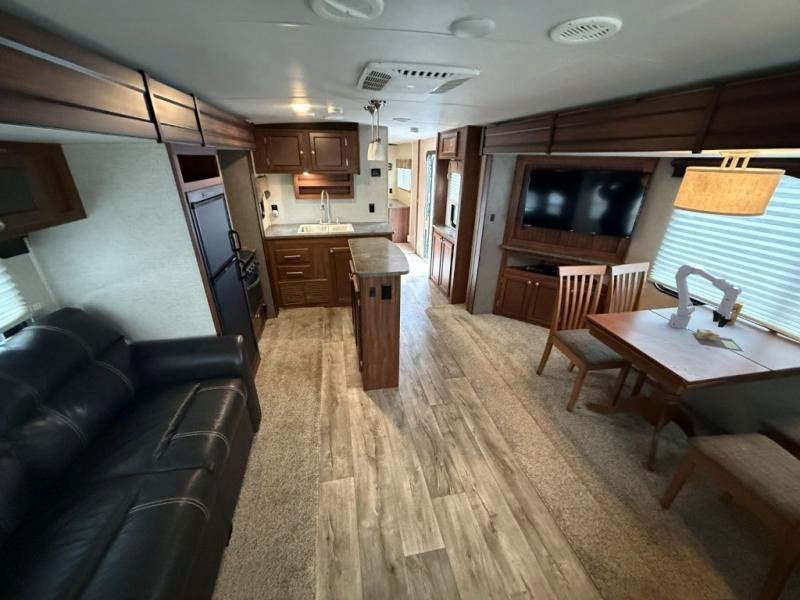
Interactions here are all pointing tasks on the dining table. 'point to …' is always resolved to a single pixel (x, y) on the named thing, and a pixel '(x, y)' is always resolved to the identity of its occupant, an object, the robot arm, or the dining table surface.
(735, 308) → the candy box
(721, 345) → the rubber mat
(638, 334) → the dining table surface
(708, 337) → the maple block
